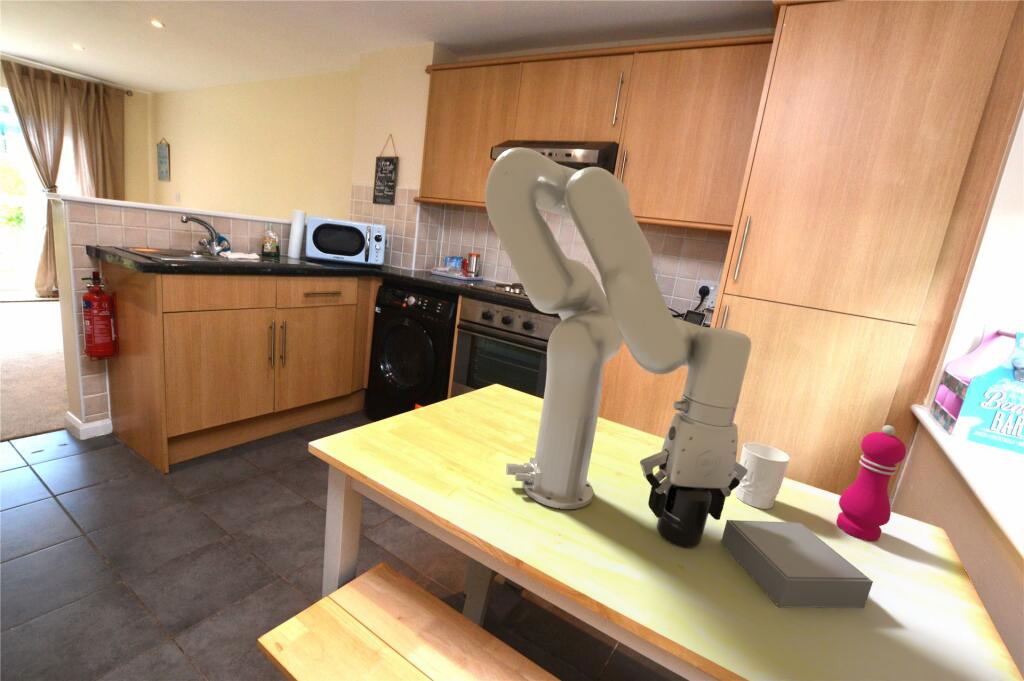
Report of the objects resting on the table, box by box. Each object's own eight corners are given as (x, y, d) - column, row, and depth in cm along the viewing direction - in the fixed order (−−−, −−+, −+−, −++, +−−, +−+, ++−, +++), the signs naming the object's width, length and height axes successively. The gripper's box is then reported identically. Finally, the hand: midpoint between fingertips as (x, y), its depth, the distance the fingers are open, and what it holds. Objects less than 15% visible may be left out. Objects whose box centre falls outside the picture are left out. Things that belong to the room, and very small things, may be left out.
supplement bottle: (654, 539, 71) (669, 468, 68) (657, 517, 77) (672, 451, 74) (701, 555, 68) (719, 482, 66) (701, 531, 74) (717, 464, 72)
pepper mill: (869, 547, 77) (905, 436, 73) (824, 522, 83) (855, 418, 79) (890, 539, 80) (926, 432, 76) (845, 515, 86) (876, 416, 82)
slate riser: (779, 607, 60) (787, 579, 59) (721, 542, 72) (726, 519, 71) (864, 607, 62) (873, 580, 61) (793, 544, 74) (800, 521, 73)
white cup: (783, 515, 83) (797, 465, 81) (737, 505, 85) (750, 455, 83) (768, 493, 91) (780, 447, 89) (726, 485, 92) (738, 439, 90)
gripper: (664, 416, 63) (642, 526, 67) (776, 424, 66) (748, 530, 70) (642, 398, 71) (622, 498, 74) (743, 406, 73) (720, 502, 77)
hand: (683, 513), depth 72 cm, fingers open, 9 cm apart
